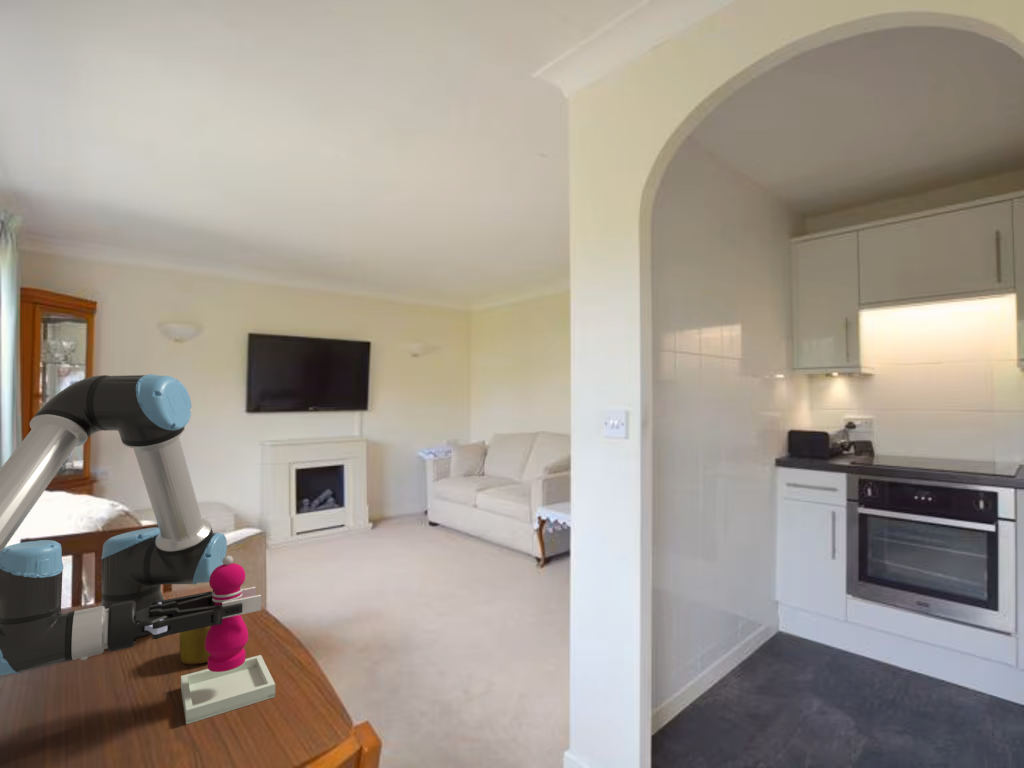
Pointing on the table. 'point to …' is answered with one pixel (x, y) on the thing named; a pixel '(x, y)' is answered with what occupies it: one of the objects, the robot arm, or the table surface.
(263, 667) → the tray
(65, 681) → the table surface
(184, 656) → the mug
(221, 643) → the pepper mill
